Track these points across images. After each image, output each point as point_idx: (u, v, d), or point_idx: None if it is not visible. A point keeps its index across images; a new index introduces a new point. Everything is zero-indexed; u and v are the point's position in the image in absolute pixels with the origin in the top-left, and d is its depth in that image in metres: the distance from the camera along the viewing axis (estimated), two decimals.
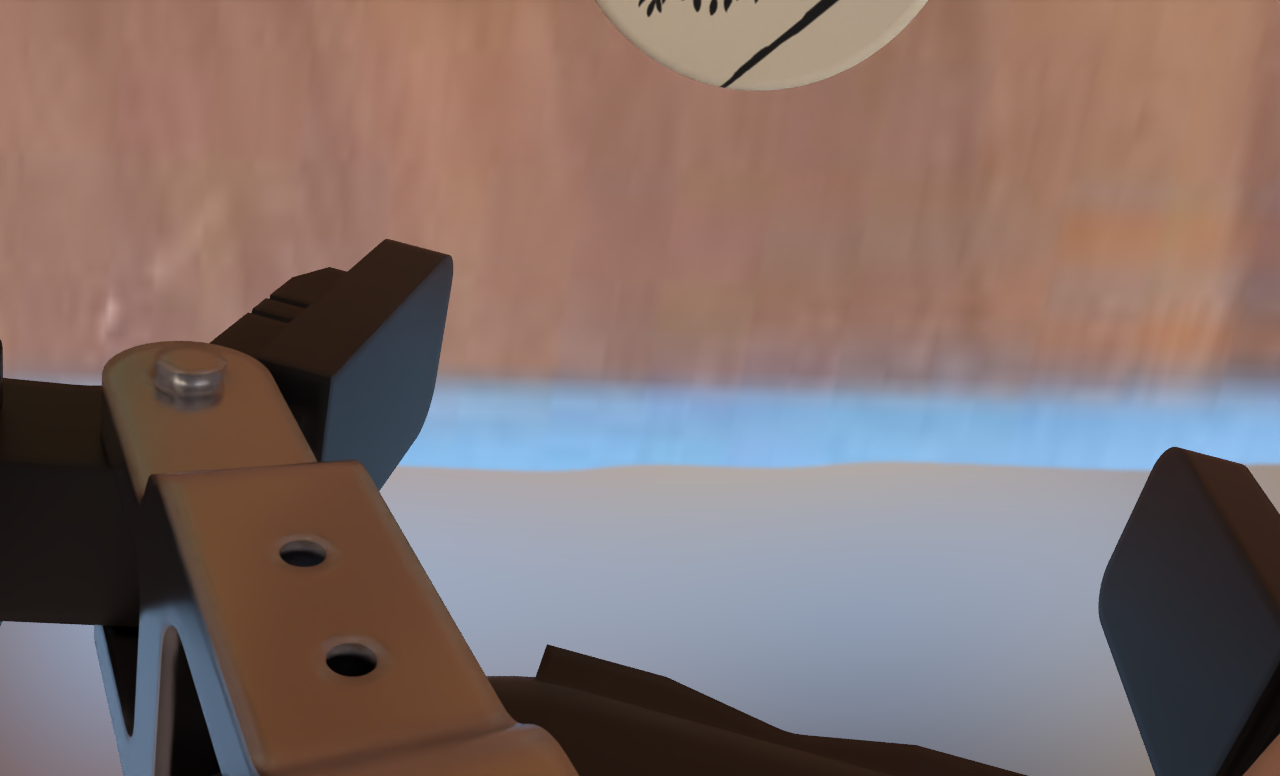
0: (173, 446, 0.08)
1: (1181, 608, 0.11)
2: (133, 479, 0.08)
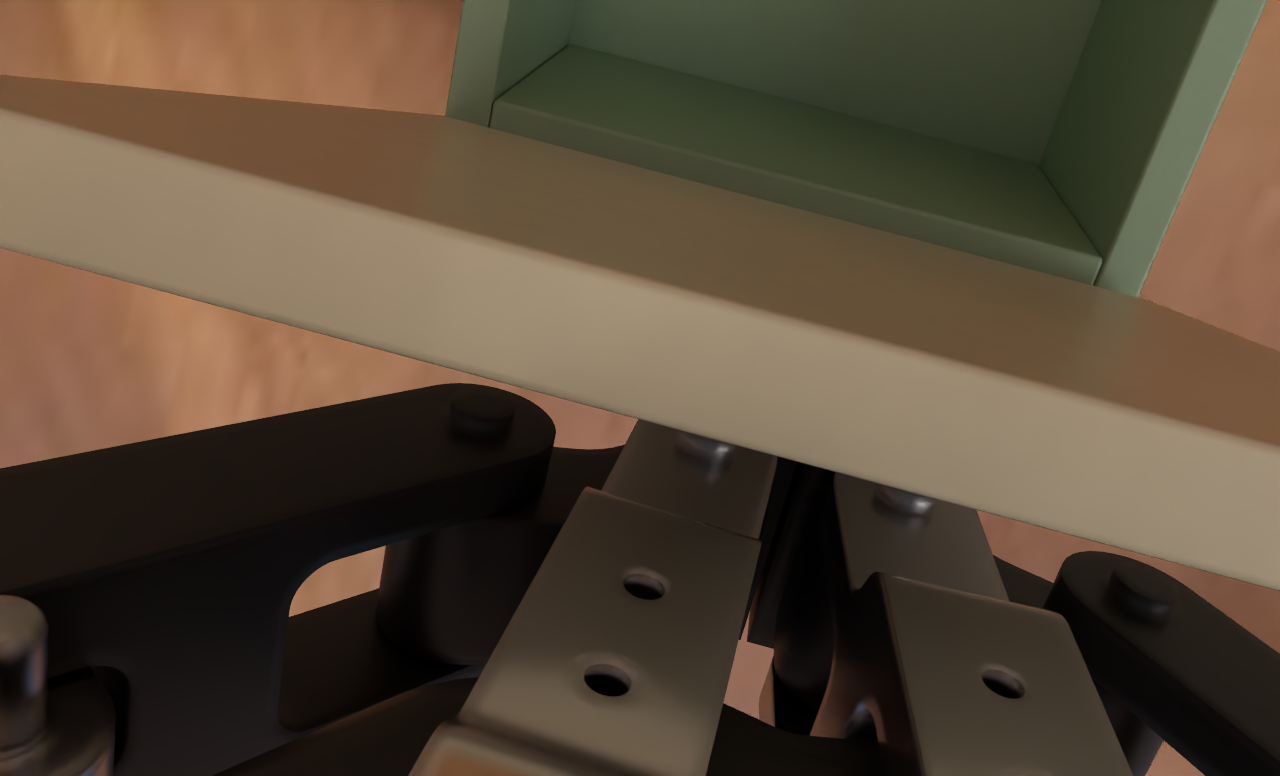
0: (743, 515, 0.09)
1: None
2: None
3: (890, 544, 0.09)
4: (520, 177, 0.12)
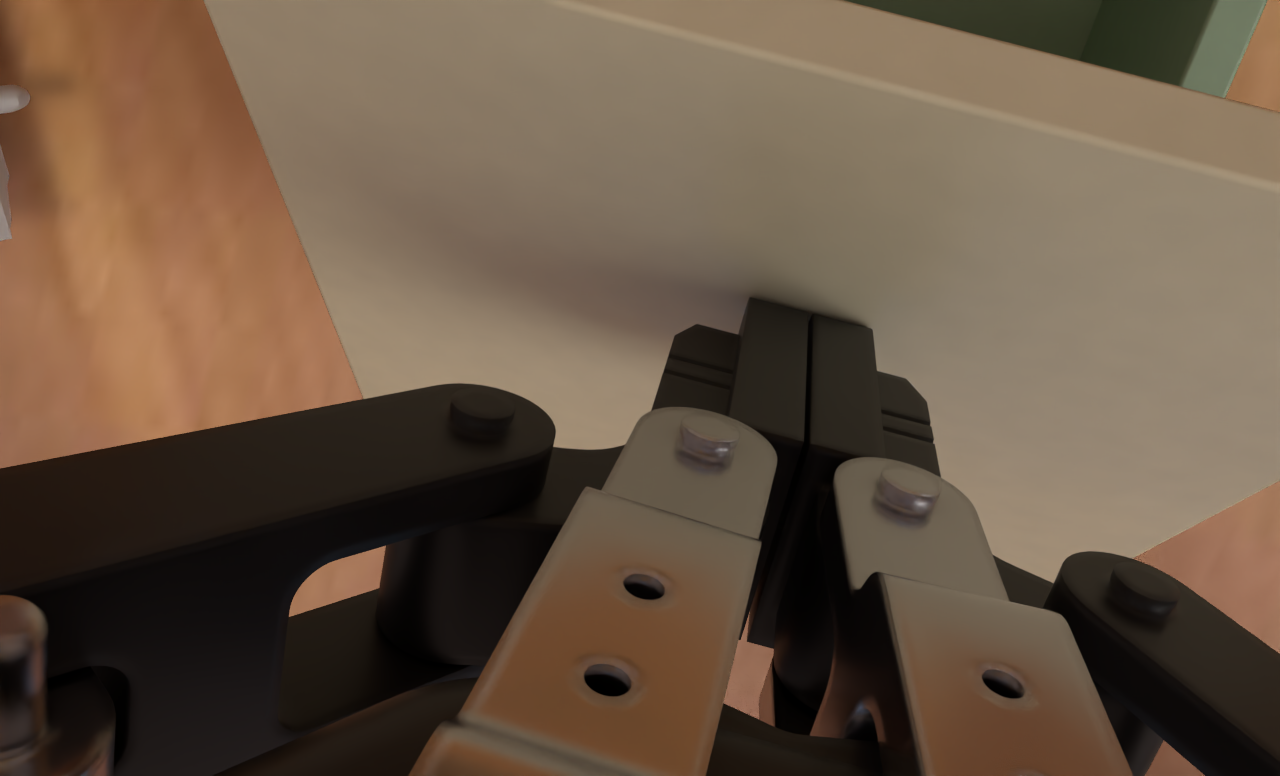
0: (743, 514, 0.09)
1: None
2: None
3: (890, 544, 0.09)
4: None
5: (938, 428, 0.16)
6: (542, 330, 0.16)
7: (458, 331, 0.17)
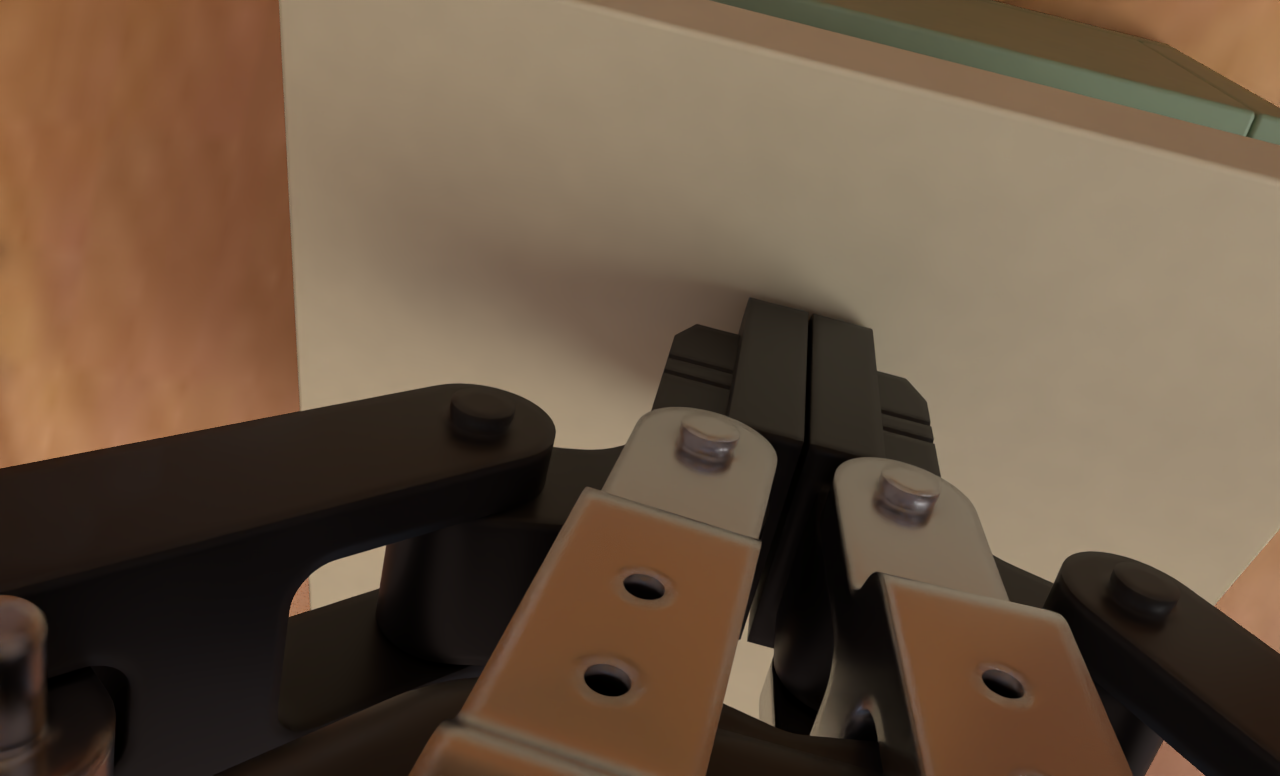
0: (744, 515, 0.09)
1: None
2: None
3: (890, 544, 0.09)
4: None
5: None
6: None
7: None
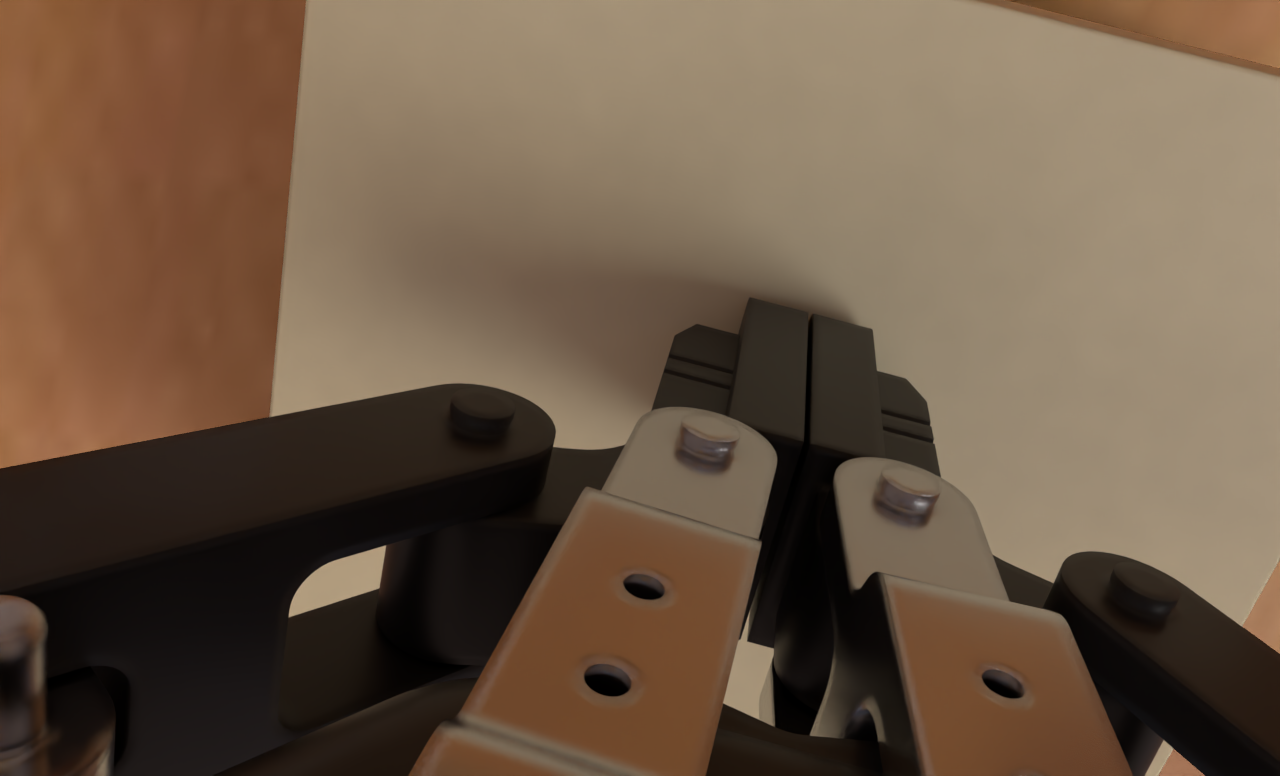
0: (743, 515, 0.09)
1: None
2: None
3: (890, 544, 0.09)
4: None
5: None
6: None
7: None
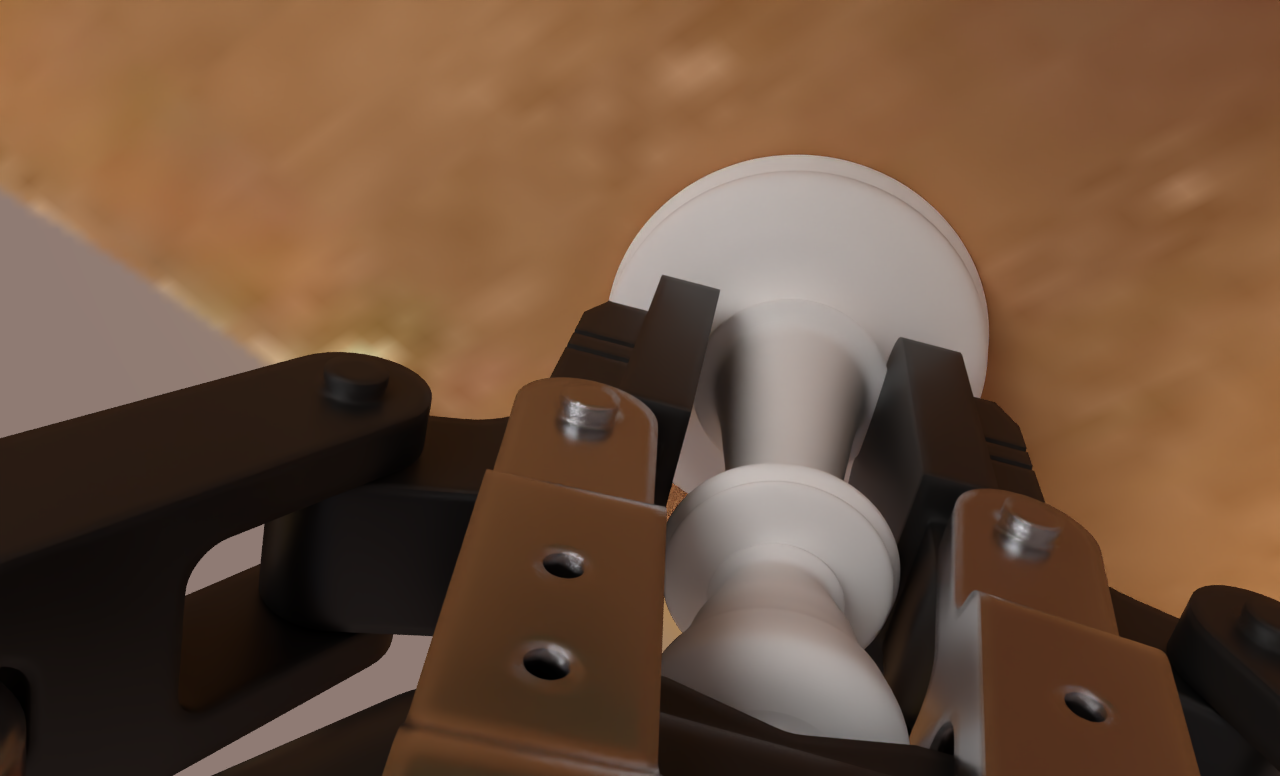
0: (612, 480, 0.09)
1: (881, 474, 0.12)
2: None
3: (1022, 581, 0.09)
4: None
5: None
6: None
7: None
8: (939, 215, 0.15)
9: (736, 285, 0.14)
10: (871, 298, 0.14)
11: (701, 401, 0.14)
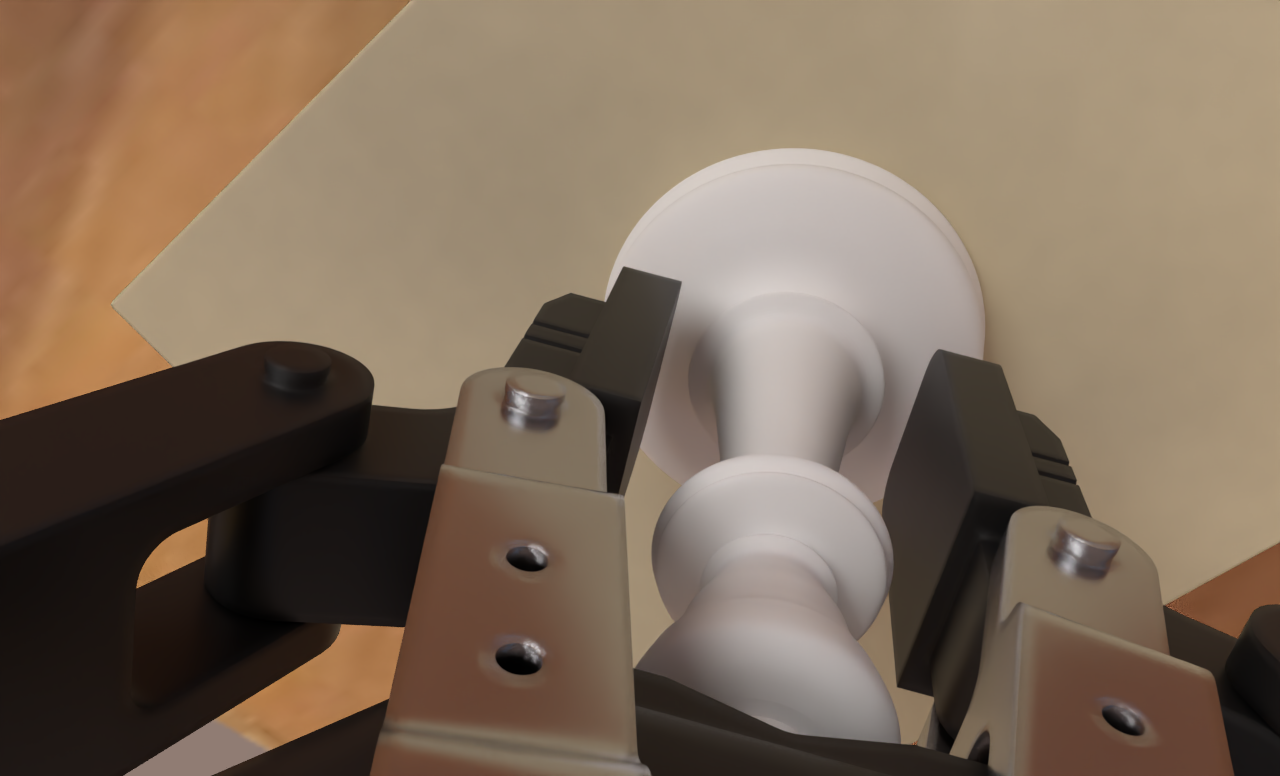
0: (552, 468, 0.09)
1: (922, 488, 0.12)
2: None
3: (1082, 601, 0.09)
4: None
5: None
6: None
7: None
8: (936, 209, 0.15)
9: (732, 278, 0.14)
10: (867, 291, 0.14)
11: (697, 394, 0.14)
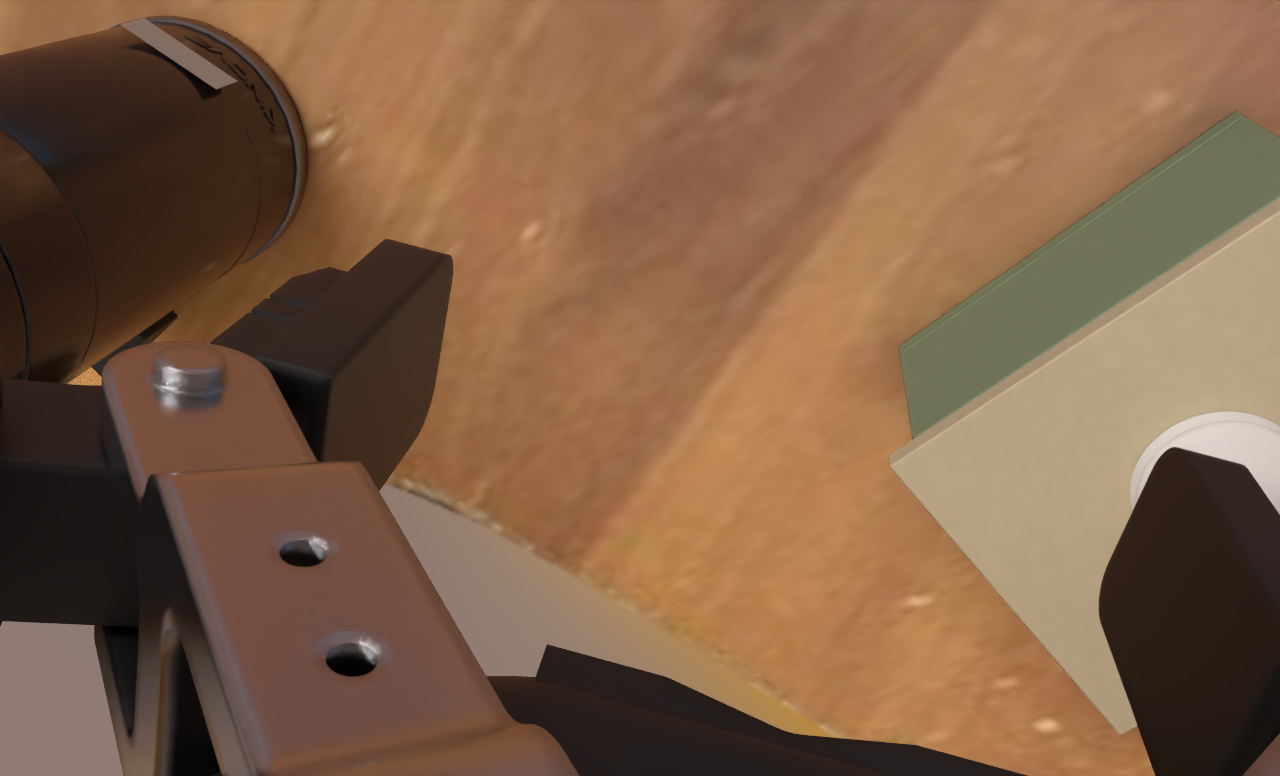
0: (173, 447, 0.08)
1: (1181, 608, 0.11)
2: (133, 479, 0.08)
3: None
4: None
5: (1147, 445, 0.36)
6: None
7: None
8: None
9: None
10: (1268, 475, 0.34)
11: None
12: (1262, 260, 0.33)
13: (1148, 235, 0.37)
